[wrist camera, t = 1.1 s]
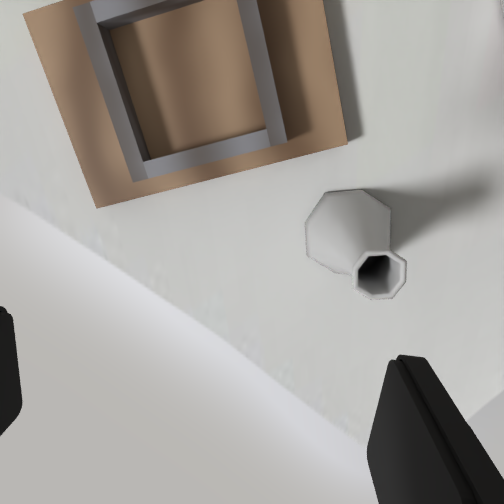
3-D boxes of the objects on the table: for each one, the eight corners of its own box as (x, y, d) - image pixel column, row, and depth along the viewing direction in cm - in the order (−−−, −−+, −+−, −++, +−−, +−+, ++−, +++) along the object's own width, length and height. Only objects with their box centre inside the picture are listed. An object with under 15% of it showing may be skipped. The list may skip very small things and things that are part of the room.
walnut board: (306, -69, 25) (311, -99, 22) (344, 143, 29) (353, 145, 26) (35, 19, 28) (3, 4, 24) (104, 204, 32) (84, 213, 28)
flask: (375, 281, 33) (417, 342, 23) (293, 262, 33) (302, 316, 23) (404, 199, 31) (464, 231, 21) (316, 178, 30) (337, 200, 21)
